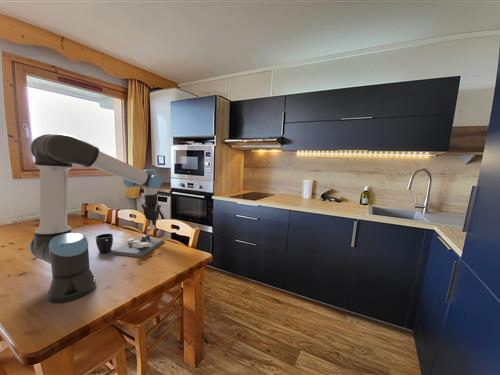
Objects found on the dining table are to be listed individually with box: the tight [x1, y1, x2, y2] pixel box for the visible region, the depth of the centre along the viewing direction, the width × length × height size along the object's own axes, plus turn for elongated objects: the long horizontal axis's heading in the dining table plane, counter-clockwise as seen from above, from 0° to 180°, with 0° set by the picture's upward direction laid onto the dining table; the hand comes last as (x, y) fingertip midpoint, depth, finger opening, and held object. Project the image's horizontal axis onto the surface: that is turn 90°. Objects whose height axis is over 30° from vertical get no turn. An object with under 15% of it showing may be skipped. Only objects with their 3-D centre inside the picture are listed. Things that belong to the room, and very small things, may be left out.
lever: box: [145, 226, 152, 239], centre depth 136 cm, size 3×3×9 cm
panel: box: [112, 234, 165, 258], centre depth 129 cm, size 23×18×5 cm
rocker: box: [133, 242, 151, 248], centre depth 122 cm, size 10×4×2 cm, turn 171°
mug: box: [95, 233, 114, 254], centre depth 122 cm, size 8×12×10 cm
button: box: [126, 237, 136, 245], centre depth 130 cm, size 4×4×2 cm
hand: (152, 229), depth 135 cm, fingers closed
